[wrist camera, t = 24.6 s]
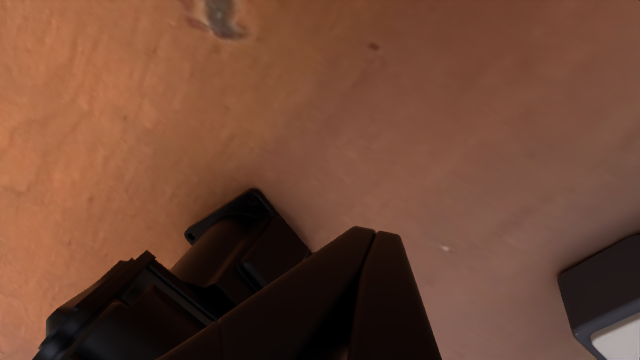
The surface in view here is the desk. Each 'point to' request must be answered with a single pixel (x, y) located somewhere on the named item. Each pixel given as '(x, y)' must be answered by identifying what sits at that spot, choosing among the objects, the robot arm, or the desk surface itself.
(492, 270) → the desk surface
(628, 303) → the calculator
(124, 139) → the desk surface
